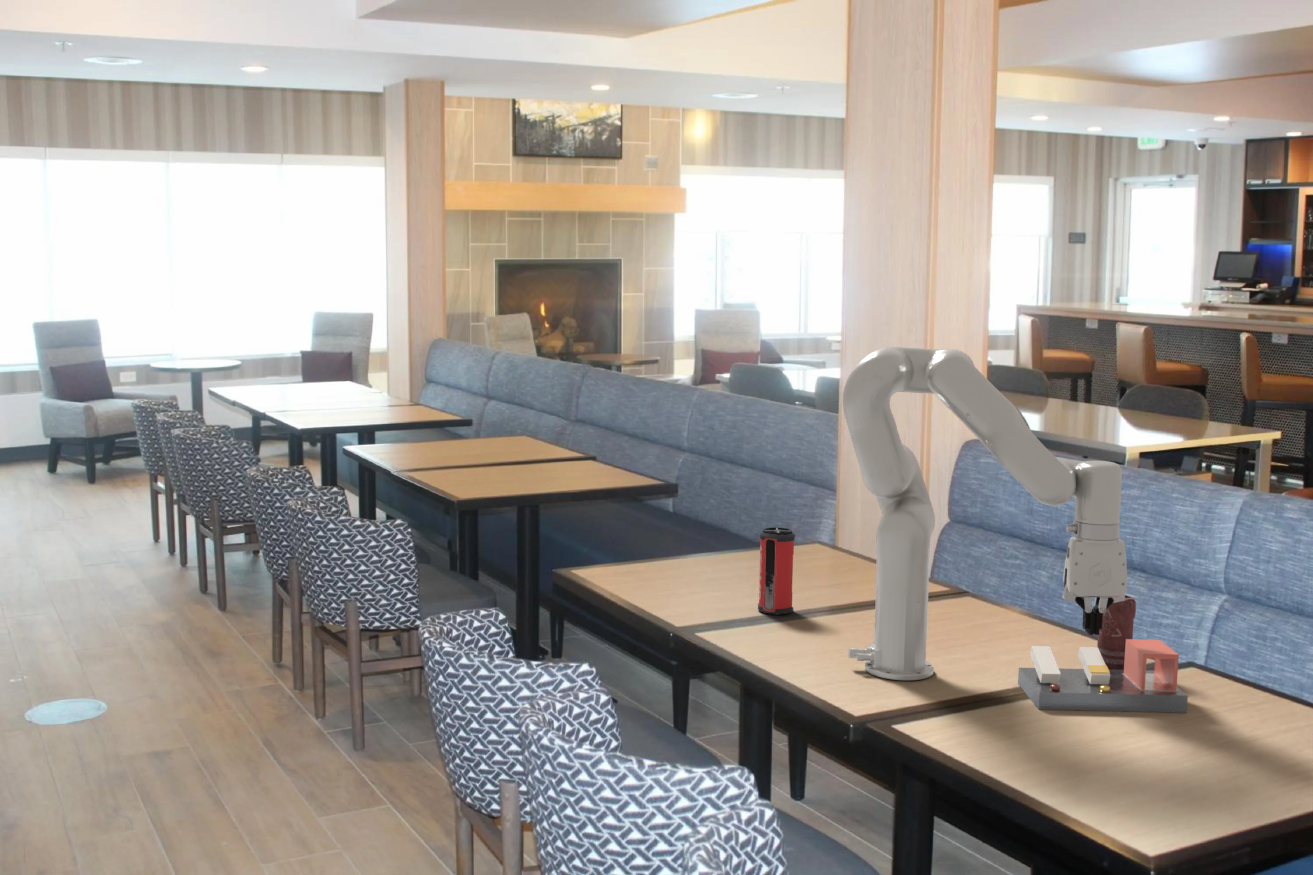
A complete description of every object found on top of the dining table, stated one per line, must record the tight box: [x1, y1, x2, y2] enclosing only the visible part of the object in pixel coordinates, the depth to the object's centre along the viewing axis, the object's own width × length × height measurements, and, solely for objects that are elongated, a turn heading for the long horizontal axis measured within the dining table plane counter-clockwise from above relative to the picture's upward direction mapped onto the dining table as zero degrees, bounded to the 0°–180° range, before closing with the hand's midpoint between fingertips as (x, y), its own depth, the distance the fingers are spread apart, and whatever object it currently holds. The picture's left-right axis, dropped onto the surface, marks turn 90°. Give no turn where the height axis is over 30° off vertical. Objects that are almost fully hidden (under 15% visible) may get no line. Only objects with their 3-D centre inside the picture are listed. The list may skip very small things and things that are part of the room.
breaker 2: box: [1077, 646, 1110, 684], centre depth 228 cm, size 3×8×2 cm, turn 178°
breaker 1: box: [1029, 645, 1061, 683], centre depth 228 cm, size 3×8×2 cm, turn 179°
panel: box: [1017, 667, 1189, 714], centre depth 228 cm, size 25×14×4 cm, turn 89°
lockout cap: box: [1124, 638, 1180, 690], centre depth 227 cm, size 6×9×6 cm, turn 179°
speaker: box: [757, 527, 796, 616], centre depth 282 cm, size 8×8×18 cm
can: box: [1096, 594, 1137, 670], centre depth 244 cm, size 6×6×14 cm
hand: (1091, 632), depth 230 cm, fingers closed
